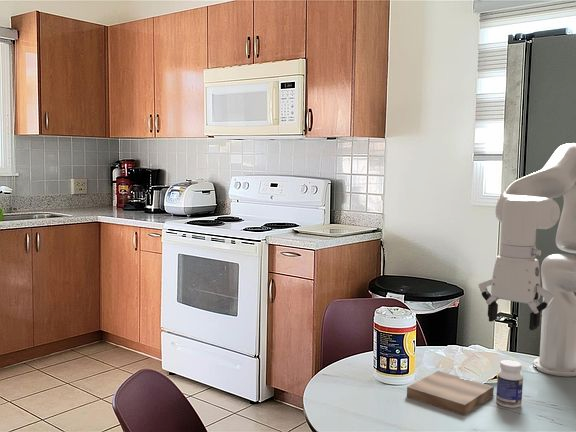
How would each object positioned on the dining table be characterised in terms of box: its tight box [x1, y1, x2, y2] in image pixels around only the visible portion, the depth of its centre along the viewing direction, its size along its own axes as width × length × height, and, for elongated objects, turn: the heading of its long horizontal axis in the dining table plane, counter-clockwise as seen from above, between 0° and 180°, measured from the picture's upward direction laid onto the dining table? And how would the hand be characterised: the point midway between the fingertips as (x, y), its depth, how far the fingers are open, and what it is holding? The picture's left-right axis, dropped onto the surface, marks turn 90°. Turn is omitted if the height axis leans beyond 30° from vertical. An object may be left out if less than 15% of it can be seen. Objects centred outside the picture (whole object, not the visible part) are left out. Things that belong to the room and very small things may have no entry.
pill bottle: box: [495, 359, 524, 409], centre depth 148 cm, size 6×6×10 cm
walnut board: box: [406, 370, 495, 416], centre depth 152 cm, size 15×15×2 cm
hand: (512, 324), depth 146 cm, fingers open, 9 cm apart
